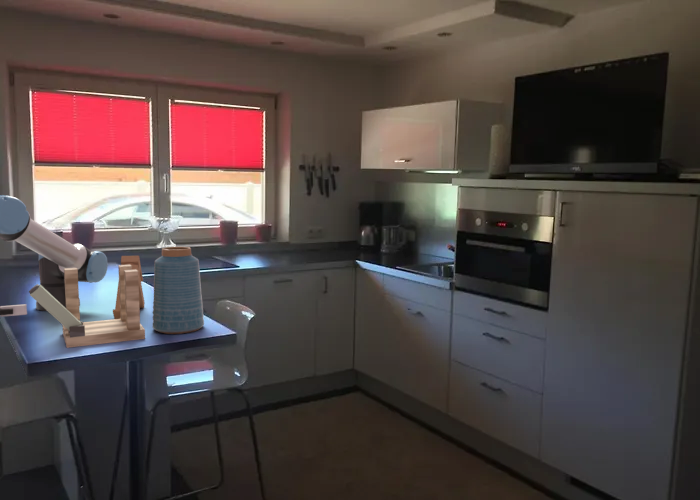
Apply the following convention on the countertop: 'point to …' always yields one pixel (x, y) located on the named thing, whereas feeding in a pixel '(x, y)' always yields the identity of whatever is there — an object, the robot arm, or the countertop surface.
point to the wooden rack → (105, 329)
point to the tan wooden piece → (136, 265)
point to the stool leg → (54, 307)
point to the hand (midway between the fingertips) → (26, 309)
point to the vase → (177, 292)
